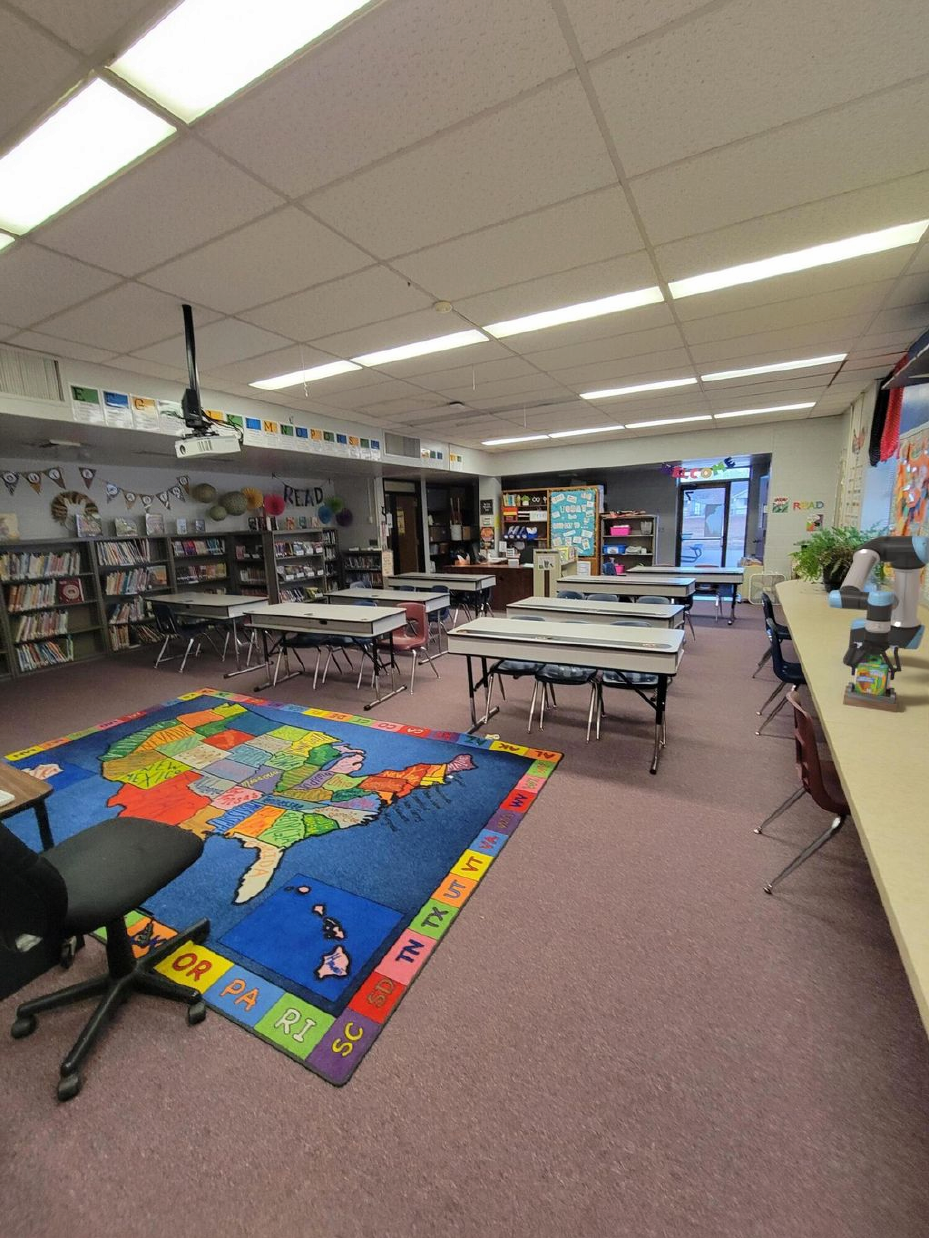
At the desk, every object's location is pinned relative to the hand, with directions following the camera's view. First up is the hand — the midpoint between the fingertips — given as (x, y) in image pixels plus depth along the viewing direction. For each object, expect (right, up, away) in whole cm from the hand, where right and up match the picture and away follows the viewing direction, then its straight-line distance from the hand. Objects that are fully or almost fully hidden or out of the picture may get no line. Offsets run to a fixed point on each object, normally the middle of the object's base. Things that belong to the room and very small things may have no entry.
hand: (871, 685), depth 196 cm
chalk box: (0, -3, +1) cm, 3 cm away
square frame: (0, -7, +1) cm, 7 cm away
